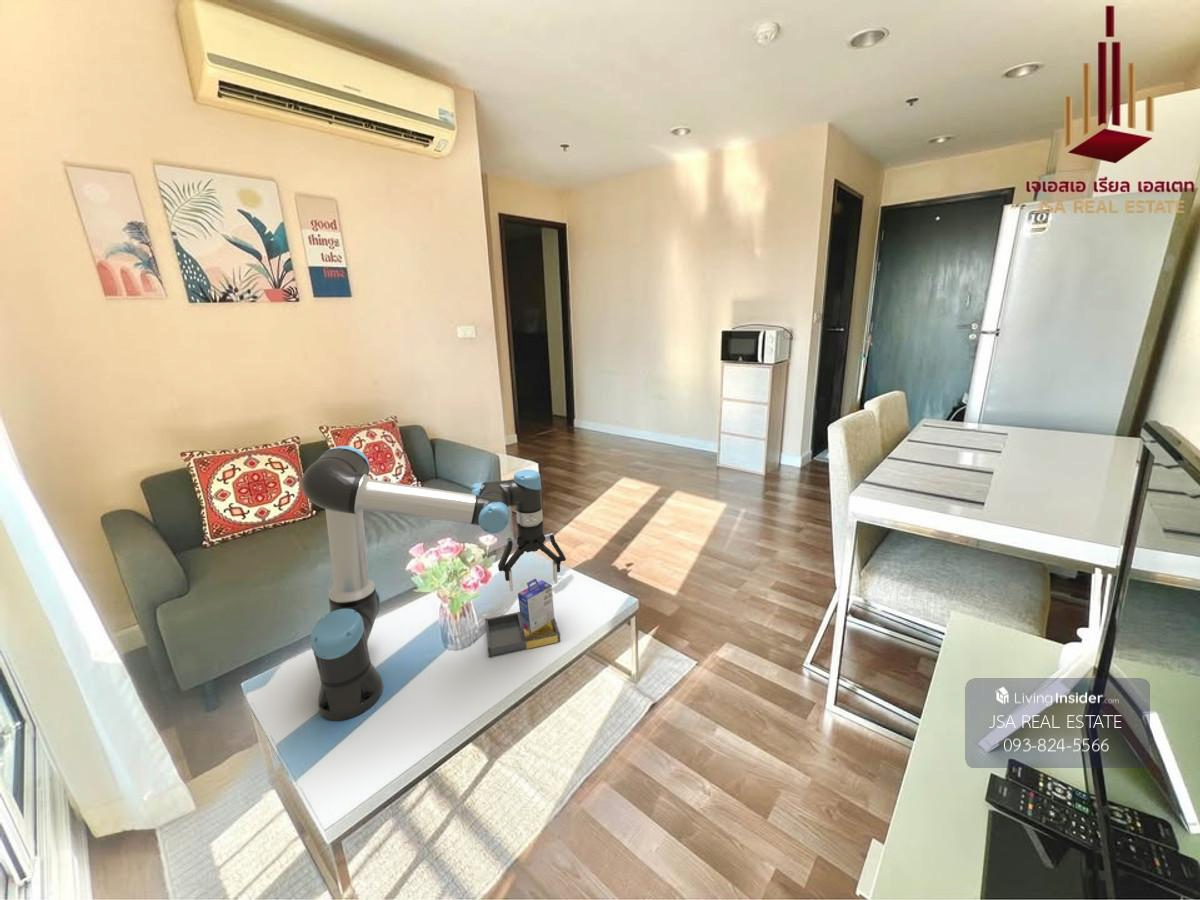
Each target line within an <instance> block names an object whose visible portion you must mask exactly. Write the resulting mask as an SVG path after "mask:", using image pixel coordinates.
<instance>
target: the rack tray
mask: <svg viewBox="0 0 1200 900" xmlns="http://www.w3.org/2000/svg"><path fill="white" fill-rule="evenodd" d="M484 622H485V633H486V642H487V652H488V658H494V657H499V656H503V655H507V654H511V653H515V652H520V651H524V650H529V649H535V648H538V647H541V646H547V645H551V644H552V645H553V644H555V643H560V642H561V633H560V630H559V627H558V624H557V622H556V618H555V617H554V619H553V620H551V621H550V622H548V623H547V624H545V625H544V626H542V627H540V628H539V629H537V630H536V631H534V632H533V633H529V632H528V631H527V630H525V629H524V628H523V627H522V625H521V616H520V611H518V612H512V613H508V614H502V615H499V616H497V615H496V616H494V617H492V616H491V617H488V618H484Z"/></svg>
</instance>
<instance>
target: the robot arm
mask: <svg viewBox="0 0 1200 900" xmlns="http://www.w3.org/2000/svg"><path fill="white" fill-rule="evenodd" d="M370 467H371V466H370V461H369V459H368V457H367V456H366V454H364V452H362V451H361V450H360V449H358V448H356V447H353V446H348V445H338V446H334V447H333V448H330V449H328V450H326V451H325V452H323V453H322V454H321V455H320V457H319V458H317V460H315V461H314V462H313V463H312V464H311V465H310V466H308V467H307V468H306V470H305V472H304V473H303V476H302V479H301V480H302V481H301V486H302V488H301V489H302V491H303V493H304V495H305V497H306V498H307V499H308V500H309V501H310V502H311V503H313V504H314V505H316V506H318V507H319V508H322V509H325V515H326V516H325V517H326V526H327V527H326V528H327V535H328V544H329V553H330V561H331V562H330V563H331V573H332V580H333V586H332V587H331V588H330V589H329V592H328V594H327V595H328V602H329V603H328V605H329V612H328V613H326V614H325V617H321V618H319V619H318V621H316V623H315V624H314V625H313V627H312V629H311V633H310V644H311V645H310V646H311V650H312V652H313V655H314V658H315V663H316V666H317V669H318V674H319V678H320V689H319V693H318V694H319V695H318V701H317V705H318V710H319V714H320V715H321V716H322V717H323V718H325V719H327V720H330V721H343V720H344V721H345V720H348V719H351V718H354V717H356V716H358V715H360V714H361V715H362V713H365V712H366V711H367V710H369V709H370V708H371V707H372V706H374V705H375V704H376V703H377V701H379V698H380V697H381V696H382V693H383V690H384V683H383V679H382V676H381V674H380V673H379V671H378V670H377V669H376V667H375V666H374V665H373V664H372V662H371V656H370V651H369V647H368V646H369V645H368V643H369V639H370V635H371V632H372V630H373V627H374V624H375V622H376V618H377V616H378V615H379V612H380V611H379V610H380V608H381V596H380V593H379V591H378V589H377V588H376V583H375V582H374V581H373V580H371V579H370V578H369V568H368V567H369V566H368V556H367V545H366V544H367V543H366V534H365V521H364V512H371V513H373V512H374V513H380V514H386V515H387V514H389V515H395V516H402V517H403V516H404V517H411V518H420V519H426V520H435V521H442V522H449V523H450V522H451V523H458V524H467V525H474V526H479V527H480V528H481V530H482V531H484V532H485V533H487V534H493V535H494V534H498V533H501V532H503V531H504V530H505V529H506V528H507V526H508V524H509V522H510V509H509V507H513V506H515V511H516V512H515V513H516V522H517V524H516V527H517V538H513V539H512V538H511V537H508V538H507V543H506V546H505V549H504V551H503V554H502V555H501V558H500V559H499V562H498V563H497V564H498V565H497V567H498V568H497V569H498V571H499V572H503V573H504V580H505V581H506V582H508V584H509V591H510V592H514V585H513V572H512V568H513V566H514V565H515V564H516V563H517V561H518V560H519V559H520V558H521V556H523V555H524V554H525V553H531V552H538V550H540V551H541V552H542V553H544V554H545V555H547V556H548V557H549V558H550V559H551V560H552V579H553V582H554V584H555V585H556V584H558V573H560V572H561V564H562V562H566V560H567V558H566V556H565V554H564V552H563V551H562V549H561V547H560V546H559V544H558V543H557V541H556V539H555V535H554V533H553V532H552V531H550V532H548V534H547V533H546V534H545V533H544V522H543V520H544V517H543V516H544V515H543V496H542V495H543V494H542V492H543V491H542V489H543V487H542V483H541V482H542V480H541V474H540V473H539V472H538V471H537V470H534V469H522V470H518V471H516V472H515V473H514V474H513V479H508V480H507V479H505V480H494V481H493V480H492V481H481V482H475V483H473V484H472V486H471V493H465V492H457V491H452V490H451V491H450V490H445V489H438V488H433V487H425V486H419V485H418V486H417V485H411V484H405V483H397V482H393V481H383V480H377V479H372V478H370V477H369V474H370V469H371V468H370ZM546 540H547V541H548V542H550V543H551V545H552V546H553V548H554V550H555V551H556V553H557V554H558V555H556V553H555V552H553V551H552V550H551V549H550V548H548V547H547V546H546V545H545V544H544V543H545V542H546ZM516 545H518V546H517V547H516V550H515V552H514V553H513V554H512V555H511V552H512V551H513V548H514V547H515V546H516ZM510 555H511V556H510ZM509 557H510V558H509Z"/></svg>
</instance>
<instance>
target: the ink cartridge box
mask: <svg viewBox="0 0 1200 900" xmlns="http://www.w3.org/2000/svg"><path fill="white" fill-rule="evenodd" d="M533 583H534V584H533ZM526 585H527V587H526V588H525V589H523V590H521V591H520V592H518V593H517V598H518V606H519V612H520V616H521V625H522V627H523V628H524V629H525V630H527V631H528V632H529V633H533V632H534V631H536V630H537V629H539V628H540V627H542V626H544V625H545V624H547V623H548V622H550V621H551V620H553V619H554V618H555V609H554V599H553V596H554V595H553V586H552V584H550V583H548V582H546V581H545V580H543V579H541V580H539V581H538V580H537V578H534V579H532V580H530V581H528V582H527V583H526Z"/></svg>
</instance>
